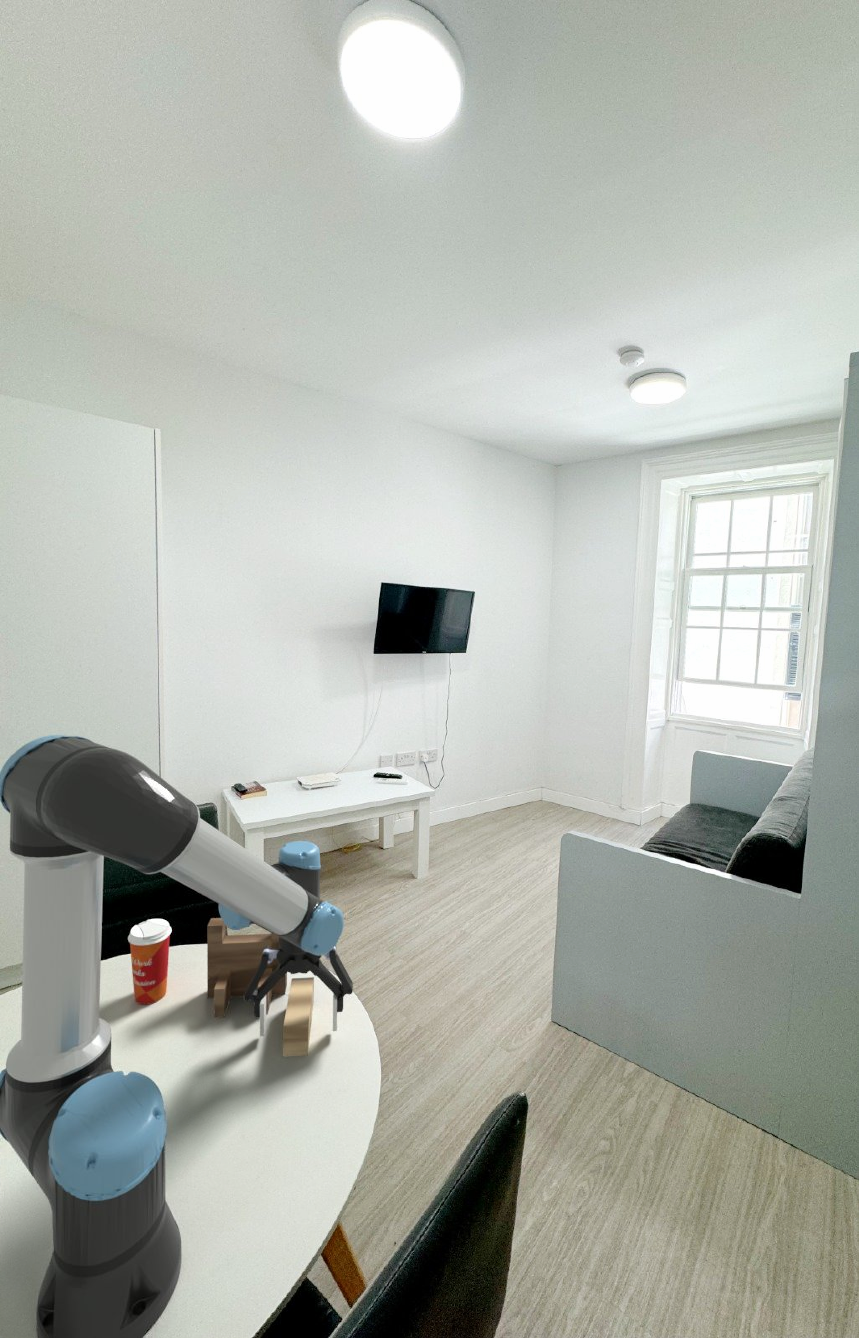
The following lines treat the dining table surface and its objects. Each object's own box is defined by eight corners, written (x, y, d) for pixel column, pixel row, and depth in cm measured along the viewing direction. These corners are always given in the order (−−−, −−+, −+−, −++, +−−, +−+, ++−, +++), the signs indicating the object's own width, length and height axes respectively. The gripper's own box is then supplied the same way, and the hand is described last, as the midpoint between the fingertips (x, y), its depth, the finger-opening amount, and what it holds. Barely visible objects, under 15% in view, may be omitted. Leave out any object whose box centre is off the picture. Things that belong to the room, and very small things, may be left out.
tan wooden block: (307, 1054, 105) (308, 1024, 104) (283, 1056, 104) (283, 1026, 103) (313, 1004, 118) (313, 977, 118) (291, 1005, 118) (291, 978, 117)
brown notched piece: (281, 1013, 115) (282, 938, 114) (199, 1018, 113) (199, 942, 112) (286, 984, 124) (287, 915, 123) (211, 988, 122) (211, 918, 120)
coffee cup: (121, 997, 118) (120, 929, 117) (158, 977, 125) (158, 913, 124) (142, 1014, 114) (141, 943, 112) (180, 992, 120) (179, 925, 119)
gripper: (365, 911, 112) (363, 1010, 114) (235, 916, 109) (236, 1019, 111) (366, 932, 105) (364, 1038, 107) (226, 939, 101) (228, 1048, 103)
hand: (299, 1028), depth 109 cm, fingers open, 13 cm apart
